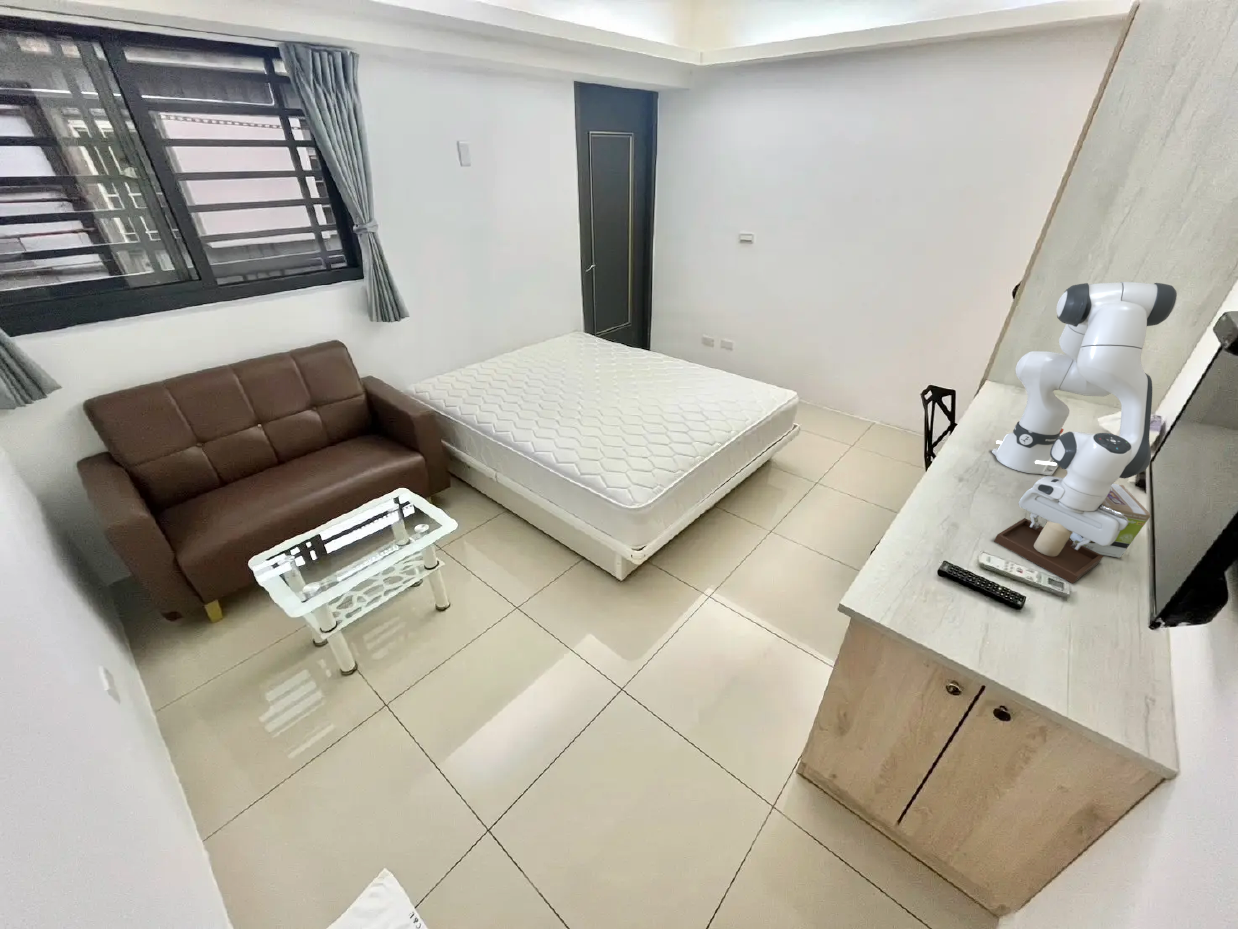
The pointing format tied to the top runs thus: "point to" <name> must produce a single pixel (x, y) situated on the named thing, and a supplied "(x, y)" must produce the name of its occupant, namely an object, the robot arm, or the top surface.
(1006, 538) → the tray
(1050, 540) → the candle
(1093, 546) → the tea box
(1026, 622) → the top surface
